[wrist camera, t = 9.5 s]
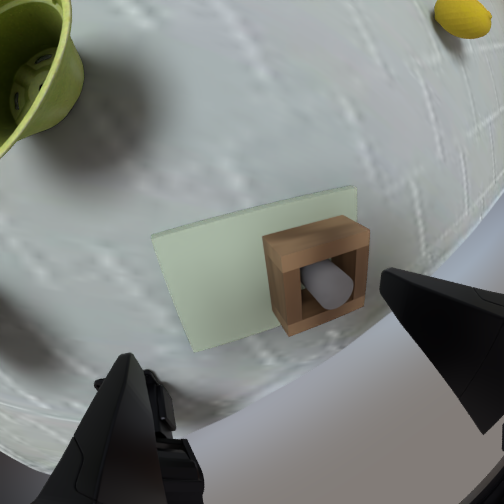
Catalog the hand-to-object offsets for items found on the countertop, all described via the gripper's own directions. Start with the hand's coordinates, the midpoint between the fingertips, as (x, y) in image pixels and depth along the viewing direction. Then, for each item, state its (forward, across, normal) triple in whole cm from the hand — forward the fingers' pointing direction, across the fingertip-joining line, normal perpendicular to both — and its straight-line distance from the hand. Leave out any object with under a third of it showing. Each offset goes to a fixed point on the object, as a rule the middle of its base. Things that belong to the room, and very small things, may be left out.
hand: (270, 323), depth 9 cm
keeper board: (+12, -4, +6) cm, 14 cm away
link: (+11, -7, +6) cm, 14 cm away
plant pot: (+12, +9, -12) cm, 19 cm away
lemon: (+12, -28, -18) cm, 35 cm away
